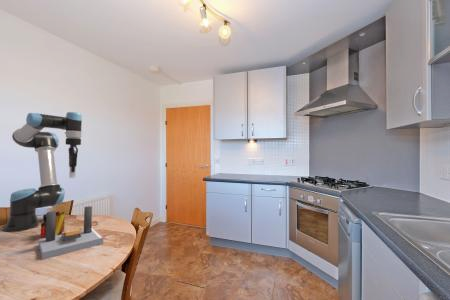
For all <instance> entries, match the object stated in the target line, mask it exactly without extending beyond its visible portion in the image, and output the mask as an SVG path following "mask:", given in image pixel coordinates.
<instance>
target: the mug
mask: <svg viewBox="0 0 450 300" xmlns="http://www.w3.org/2000/svg"><path fill="white" fill-rule="evenodd" d="M55 212H56V222H55V236H57V235H62V232H65V223H66V222H65V219H66V217H65V216H66V213H65V212H63V211H55ZM46 215H47V213H45V214H43V215H42V222H41V223H40V239H43V238H46Z"/></svg>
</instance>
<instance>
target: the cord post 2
mask: <svg viewBox="0 0 450 300" xmlns="http://www.w3.org/2000/svg"><path fill="white" fill-rule="evenodd" d="M92 218H93V206H91V205H90V206H89V205H88V206H84V213H83V230H84V233H90V232H91V228H93V227H92V221H93V219H92Z"/></svg>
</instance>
